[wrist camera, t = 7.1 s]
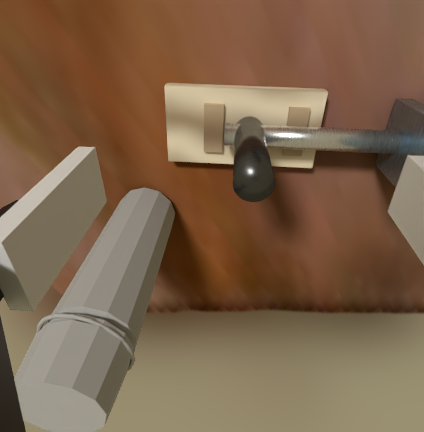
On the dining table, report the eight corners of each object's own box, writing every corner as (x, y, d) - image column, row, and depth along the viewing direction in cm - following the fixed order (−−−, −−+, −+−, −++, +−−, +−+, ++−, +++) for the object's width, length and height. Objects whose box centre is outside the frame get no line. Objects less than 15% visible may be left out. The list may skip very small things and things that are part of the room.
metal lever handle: (223, 157, 36) (217, 222, 25) (226, 91, 33) (221, 135, 22) (389, 165, 36) (458, 236, 25) (412, 99, 32) (505, 148, 21)
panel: (167, 82, 33) (163, 86, 32) (324, 88, 33) (329, 93, 31) (170, 155, 38) (167, 162, 36) (309, 162, 37) (313, 170, 35)
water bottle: (154, 172, 39) (56, 364, 18) (188, 221, 42) (140, 429, 21) (96, 203, 42) (-45, 398, 21) (133, 246, 45) (43, 450, 24)
